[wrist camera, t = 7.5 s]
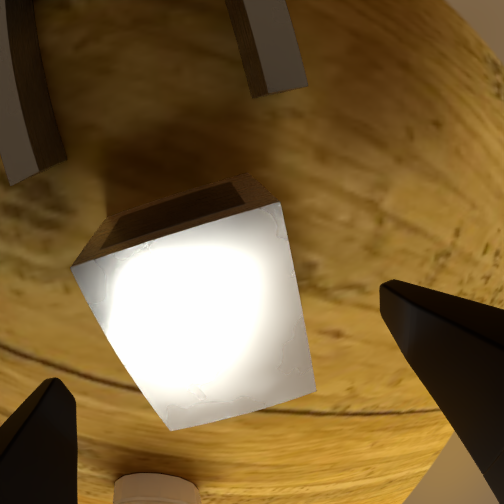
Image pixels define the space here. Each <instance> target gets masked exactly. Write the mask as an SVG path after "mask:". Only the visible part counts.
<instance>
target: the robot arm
mask: <svg viewBox="0 0 504 504" xmlns="http://www.w3.org/2000/svg"><path fill="white" fill-rule="evenodd" d="M379 292H380V313H381V316H382V318H383V320H384V322H385V323H386V325H387V327H388V329H389V330H390V332H391V334H392V336H393V337H394V339H395V341H396V343H397V344H398V346H399V348H400V350H401V352H402V353H403V355H404V357H405V359H406V360H407V362H408V363H409V365H410V366H411V368H412V369H413V370H414V372H415V373H416V375H417V376H418V377H419V379H420V380H421V382H422V383H423V385H424V386H425V387H426V389H427V390H428V392H429V393H430V395H431V396H432V397H433V399H434V400H435V402H436V403H437V405H438V406H439V408H440V409H441V411H442V412H443V414H444V415H445V417H446V418H447V420H448V421H449V423H450V424H451V426H452V427H453V429H454V430H455V432H456V433H457V435H458V436H459V438H460V439H461V441H462V442H463V444H464V446H465V447H466V449H467V450H468V452H469V453H470V455H471V457H472V458H473V460H474V461H475V463H476V465H477V466H478V467H479V469H480V471H481V473H482V474H483V476H484V478H485V480H486V481H487V483H488V485H489V486H490V488H491V490H492V491H493V493H494V495H495V496H496V498H497V500H498V502H499V504H504V309H500V308H497V307H493V306H489V305H486V304H482V303H479V302H475V301H472V300H468V299H465V298H461V297H457V296H454V295H450V294H447V293H443V292H439V291H436V290H432V289H429V288H425V287H421V286H418V285H414V284H410V283H407V282H403V281H399V280H395V279H393V280H390V281H387V282H385V283H382V284H381V285H380V290H379ZM77 458H78V446H77V422H76V401H75V398H74V396H73V395H72V394H71V392H70V391H69V390H68V389H67V387H66V386H65V385H64V384H63V382H62V381H61V380H60V379H59V378H56V377H54V378H49V379H46V380H44V381H43V382H42V383H41V384H40V385H39V386H38V387H37V389H36V390H35V391H34V392H33V393H32V394H31V395H30V396H29V397H28V398H27V399H26V400H25V401H24V402H23V403H22V404H21V405H20V406H19V407H18V408H17V409H16V411H15V412H14V413H13V414H12V415H11V416H10V417H9V418H8V419H7V420H6V421H5V422H4V423H3V425H2V426H1V427H0V504H78V501H77Z"/></svg>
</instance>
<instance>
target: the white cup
mask: <svg viewBox="0 0 504 504" xmlns="http://www.w3.org/2000/svg"><path fill="white" fill-rule="evenodd" d="M113 504H201V499H200V493H199V490H198V489H197V488H196V486H195V485H194V484H193V483H191V482H189V481H187V480H184V479H182V478H180V477H175V476H170V475H164V474H157V473H136V474H130V475H125V476H123V477H121V478H120V479H118V480H117V481H115V486H114V497H113Z"/></svg>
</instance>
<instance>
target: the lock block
mask: <svg viewBox="0 0 504 504" xmlns="http://www.w3.org/2000/svg"><path fill="white" fill-rule="evenodd" d="M70 269H71V271H72V273H73V275H74V277H75V279H76V281H77V283H78V285H79V287H80V289H81V291H82V293H83V295H84V297H85V299H86V301H87V302H88V304H89V306H90V308H91V310H92V312H93V314H94V315H95V317H96V319H97V321H98V323H99V324H100V326H101V328H102V330H103V331H104V333H105V335H106V337H107V338H108V340H109V342H110V343H111V345H112V347H113V348H114V350H115V352H116V353H117V355H118V356H119V358H120V360H121V361H122V363H123V364H124V366H125V367H126V369H127V371H128V372H129V374H130V375H131V377H132V378H133V380H134V381H135V383H136V384H137V386H138V387H139V389H140V390H141V391H142V393H143V394H144V396H145V397H146V399H147V400H148V401H149V403H150V404H151V406H152V407H153V408H154V410H155V411H156V412H157V414H158V415H159V416H160V418H161V419H162V420H163V422H164V423H165V424H166V426H167V427H168V428H169V430H170V431H173V430H179V429H184V428H188V427H193V426H198V425H202V424H207V423H211V422H215V421H219V420H223V419H227V418H231V417H235V416H239V415H242V414H246V413H250V412H253V411H257V410H260V409H263V408H267V407H270V406H273V405H277V404H280V403H283V402H286V401H289V400H292V399H295V398H298V397H301V396H304V395H307V394H310V393H312V392H315V391H316V386H315V380H314V374H313V368H312V362H311V356H310V351H309V345H308V339H307V334H306V328H305V323H304V318H303V312H302V307H301V302H300V296H299V291H298V286H297V281H296V276H295V271H294V266H293V261H292V256H291V251H290V246H289V241H288V237H287V232H286V227H285V222H284V218H283V213H282V208H281V204H280V201H279V200H277V199H276V198H275V197H274V196H273V195H272V194H271V193H270V192H269V191H268V190H267V189H266V188H265V187H263V186H262V185H261V184H260V183H259V182H258V181H257V180H256V179H255V178H254V177H252V176H251V175H250V174H249V173H245V174H241V175H237V176H234V177H230V178H227V179H223V180H220V181H216V182H213V183H209V184H206V185H203V186H199V187H196V188H193V189H189V190H186V191H183V192H180V193H177V194H173V195H170V196H167V197H164V198H161V199H158V200H155V201H152V202H149V203H146V204H143V205H140V206H137V207H134V208H131V209H128V210H125V211H123V212H120V213H117V214H114V215H111V216H109V217H106V219H105V220H104V221H103V223H102V224H101V225H100V227H99V228H98V229H97V231H96V232H95V233H94V235H93V236H92V237H91V239H90V240H89V242H88V243H87V244H86V246H85V247H84V249H83V250H82V251H81V253H80V254H79V256H78V257H77V259H76V260H75V261H74V263H73V264H72V266H71V267H70Z"/></svg>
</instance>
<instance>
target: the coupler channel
mask: <svg viewBox="0 0 504 504" xmlns="http://www.w3.org/2000/svg"><path fill="white" fill-rule="evenodd" d="M225 1H226V5H227V8H228V11H229V15H230V19H231V22H232V26H233V29H234V33H235V36H236V40H237V44H238V47H239V51H240V55H241V58H242V62H243V66H244V70H245V73H246V77H247V81H248V85H249V89H250V93H251V96H252V99H253V98H258V97H262V96H267V95H272V94H277V93H282V92H286V91H290V90H294V89H298V88H302V87H307V86H308V83H307V78H306V74H305V70H304V66H303V62H302V59H301V55H300V51H299V47H298V43H297V40H296V36H295V33H294V29H293V26H292V22H291V19H290V15H289V12H288V9H287V5H286V2H285V0H225ZM0 154H1V158H2V161H3V164H4V168H5V171H6V174H7V177H8V180H9V183H10V186H12V185H14V184H17V183H19V182H21V181H23V180H25V179H27V178H29V177H32V176H34V175H36V174H38V173H41V172H43V171H45V170H47V169H49V168H51V167H53V166H55V165H58V164H60V163H62V162H64V161H66V160H67V157H66V154H65V151H64V148H63V145H62V141H61V138H60V134H59V131H58V127H57V124H56V120H55V117H54V113H53V109H52V105H51V101H50V97H49V93H48V88H47V84H46V80H45V75H44V70H43V65H42V60H41V55H40V49H39V44H38V37H37V31H36V24H35V17H34V9H33V0H0Z"/></svg>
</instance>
